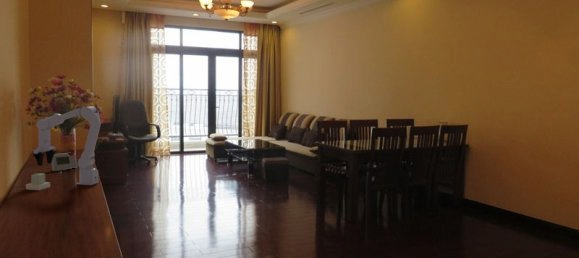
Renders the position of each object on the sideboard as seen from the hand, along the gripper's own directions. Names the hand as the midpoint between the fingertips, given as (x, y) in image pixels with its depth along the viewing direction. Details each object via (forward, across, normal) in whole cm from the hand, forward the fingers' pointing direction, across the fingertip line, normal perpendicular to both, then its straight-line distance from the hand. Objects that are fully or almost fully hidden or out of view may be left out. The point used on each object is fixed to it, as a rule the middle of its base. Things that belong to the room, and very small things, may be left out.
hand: (44, 164), depth 239 cm
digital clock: (+11, -34, -13) cm, 38 cm away
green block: (+8, +12, +5) cm, 15 cm away
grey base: (+11, +12, +5) cm, 17 cm away
